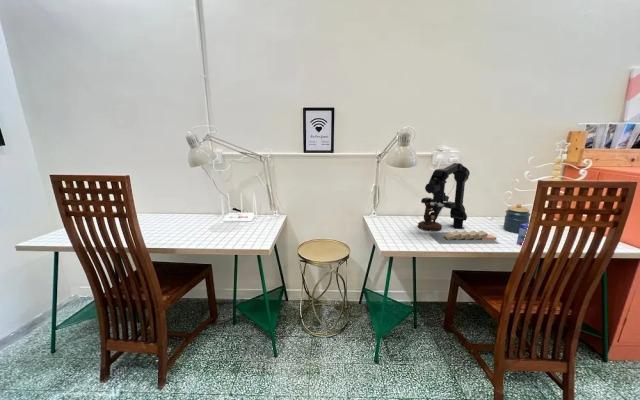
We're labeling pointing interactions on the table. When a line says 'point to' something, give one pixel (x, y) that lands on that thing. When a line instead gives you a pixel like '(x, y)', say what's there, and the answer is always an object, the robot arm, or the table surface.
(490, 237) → the domino
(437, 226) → the brown animal figurine
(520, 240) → the ink cartridge box
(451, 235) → the domino
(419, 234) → the table surface
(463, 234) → the domino
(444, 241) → the mat
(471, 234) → the domino
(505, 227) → the canister
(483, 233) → the domino
